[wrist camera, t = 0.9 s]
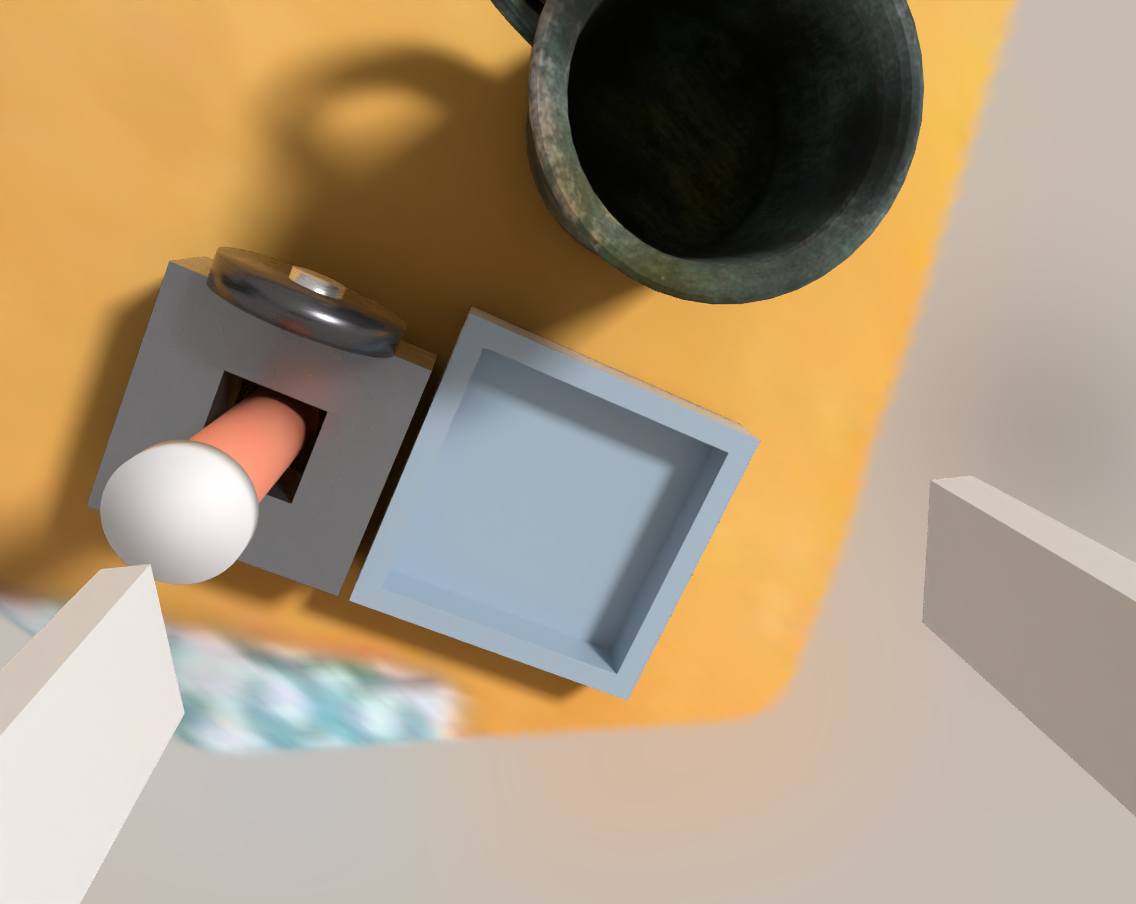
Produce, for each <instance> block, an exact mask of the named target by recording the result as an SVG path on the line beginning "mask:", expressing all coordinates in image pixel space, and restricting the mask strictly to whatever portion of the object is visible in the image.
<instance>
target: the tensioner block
mask: <svg viewBox="0 0 1136 904" xmlns="http://www.w3.org/2000/svg"><path fill="white" fill-rule="evenodd" d="M406 325H407V324H406V322H405V321H404V320H403V319H402V318H401V317H399V316H398V315H397V314H395V313H394V312H392V311H391V310H389V309H387V308H386V307H384V306H382V305H381V304H379V303H377V302H375V301H373V300H371V299H369V298H367V297H365V296H364V295H361V294H359V293H357V292H355V291H353V290H351V289H349V288H347V287H345V286H344V285H342V284H341V283H339V282H337V281H335V280H333V279H331V278H329V277H327V276H324V275H322V274H319V273H317V272H314V271H312V270H309V269H306V268H302V267H298V266H293V265H290V264H288V263H285V262H282V261H279V260H276V259H273V258H270V257H267V256H263V255H260V254H257V253H253V252H249V251H245V250H241V249H236V248H229V247H220V248H218V249H217V252H216V255H215V258H214V260H212V259H209V258H207V257H198V258H190V259H182V260H173V261H169V264H168V267H167V270H166V273H165V276H164V279H163V281H162V284H161V287H160V290H159V293H158V296H157V299H156V302H155V305H154V308H153V311H152V314H151V317H150V320H149V323H148V326H147V329H146V332H145V335H144V338H143V341H142V344H141V347H140V349H139V352H138V355H137V358H136V361H135V364H134V367H133V370H132V373H131V376H130V379H129V382H128V385H127V388H126V391H125V394H124V397H123V400H122V403H121V406H120V409H119V412H118V414H117V417H116V420H115V423H114V426H113V429H112V432H111V435H110V438H109V441H108V444H107V447H106V450H105V453H104V456H103V459H102V462H101V465H100V468H99V471H98V474H97V477H96V479H95V482H94V485H93V488H92V491H91V494H90V497H89V500H88V503H87V506H88V507H90V508H93V509H96V510H99V511H100V506H101V499H102V495H103V491H104V489H105V486H106V484H107V482H108V481H109V479H110V477H111V476H112V475H113V474H114V472H115V471H116V470H117V469H118V468H119V467H120V466H121V465H122V464H124V463H125V462H126V461H128V460H129V459H131V458H132V457H134V456H135V455H137V454H138V453H140V452H142V451H143V450H145V449H146V448H148V447H150V446H152V445H155V444H158V443H161V442H165V441H170V440H189V439H190V438H191V437H193V436H194V435H195V434H197V433H198V432H200V431H201V430H202V429H204V428H205V427H206V426H208V425H209V424H210V423H212V422H213V421H215V420H216V419H217V418H219V417H220V416H221V415H223V414H224V413H226V412H227V411H228V410H230V409H231V408H232V407H234V404H235V401H236V399H237V396H238V393H239V390H240V388H241V385H242V382H243V380H244V378H245V379H247V380H250V381H252V382H255V383H257V384H260V385H262V386H265V387H267V388H270V389H272V390H275V391H277V392H280V393H282V394H285V395H287V396H290V397H292V398H295V399H297V400H300V401H302V402H305V403H307V404H310V405H312V406H315V407H317V408H320V409H322V410H325V411H327V412H328V413H327V415H326V418H325V420H324V423H323V425H322V428H321V430H320V433H319V436H318V438H317V441H316V443H315V446H314V448H313V451H312V453H311V456H310V458H309V461H308V463H307V466H306V469H305V471H304V472H303V471H301V470H298V469H296V468H293V467H290V466H289V467H288V468H287V469H286V470H285V472H284V473H283V474H282V475H281V477H280V478H279V479H278V480H277V481H276V483H275V484H274V485H273V486H272V488H271V489H270V490H269V491H268V493H267V494H266V495H265V496H264V498H263V499H262V500H261V501H260V503H259V518H258V524H257V527H256V530H255V533H254V535H253V537H252V539H251V540H250V542H249V544H248V545H247V546H246V548H245V549H244V550H243V552H242V553H241V555H240V556H239V557H238V559H237V560H238V561H241V562H244V563H246V564H249V565H252V566H255V567H258V568H260V569H263V570H266V571H269V572H271V573H274V574H277V575H280V576H283V577H285V578H288V579H291V580H294V581H297V582H299V583H302V584H305V585H308V586H310V587H313V588H316V589H319V590H322V591H324V592H327V593H330V594H333V595H336V596H338V595H339V592H340V590H341V588H342V585H343V583H344V580H345V578H346V576H347V573H348V571H349V568H350V566H351V564H352V561H353V559H354V556H355V554H356V552H357V549H358V547H359V544H360V542H361V540H362V537H363V535H364V532H365V530H366V528H367V525H368V523H369V520H370V518H371V516H372V513H373V511H374V508H375V506H376V504H377V501H378V499H379V496H380V494H381V492H382V489H383V487H384V484H385V482H386V480H387V477H388V475H389V472H390V470H391V468H392V465H393V463H394V460H395V458H396V456H397V453H398V451H399V448H400V446H401V444H402V441H403V439H404V436H405V434H406V432H407V429H408V427H409V424H410V422H411V420H412V417H413V415H414V412H415V410H416V408H417V405H418V403H419V400H420V398H421V396H422V393H423V391H424V388H425V386H426V384H427V381H428V379H429V376H430V374H431V372H432V369H433V366H434V363H435V361H436V358H437V355H435V354H433V353H431V352H428V351H426V350H424V349H421V348H419V347H417V346H414V345H412V344H410V343H407V342H405V341H402V340H401V338H402V335H403V333H404V330H405V328H406Z"/></svg>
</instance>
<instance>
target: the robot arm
mask: <svg viewBox="0 0 1136 904" xmlns="http://www.w3.org/2000/svg"><path fill="white" fill-rule="evenodd" d="M923 623H924V624H925V625H926V626H927V627H928V628H929V629H931V630H932V631H933V632H934V633H935V634H936V635H937V636H938V637H939V638H940V639H942V640H943V641H944V642H945V643H946V644H947V645H948V646H949V647H950V648H951V649H953V650H954V651H955V652H956V653H957V654H958V655H959V656H960V657H961V658H962V659H964V660H965V661H966V662H967V663H968V664H969V665H970V666H971V667H972V668H973V669H974V670H976V671H977V672H978V673H979V674H980V675H981V676H982V677H983V678H984V679H985V680H987V681H988V682H989V683H990V684H991V685H992V686H993V687H994V688H995V689H996V690H998V691H999V692H1000V693H1001V694H1002V695H1003V696H1004V697H1005V698H1006V699H1007V700H1009V701H1010V702H1011V703H1012V704H1013V705H1014V706H1015V707H1016V708H1017V709H1018V710H1019V711H1021V712H1022V713H1023V714H1024V715H1025V716H1026V717H1027V718H1028V719H1029V720H1030V721H1032V722H1033V723H1034V724H1035V725H1036V726H1037V727H1038V728H1039V729H1040V730H1041V731H1042V732H1044V733H1045V734H1046V735H1047V736H1048V737H1049V738H1050V739H1051V740H1052V741H1053V742H1055V743H1056V744H1057V745H1058V746H1059V747H1060V748H1061V749H1062V750H1063V751H1064V752H1066V753H1067V754H1068V755H1069V756H1070V757H1071V758H1073V760H1074V761H1075V762H1076V763H1078V764H1079V765H1080V766H1081V767H1082V768H1083V769H1084V770H1085V771H1086V772H1088V773H1089V774H1090V775H1091V776H1092V777H1093V778H1094V779H1095V780H1096V781H1097V782H1098V783H1100V784H1101V785H1102V786H1103V787H1104V788H1105V789H1106V790H1107V791H1108V792H1109V793H1111V794H1112V795H1113V796H1114V797H1115V798H1116V799H1117V800H1118V801H1119V802H1120V803H1121V804H1123V805H1124V806H1125V807H1126V808H1127V809H1128V810H1129V811H1130V812H1131V813H1132V814H1134V815H1135V816H1136V563H1135V562H1133V561H1131V560H1129V559H1127V558H1126V557H1124V556H1122V555H1120V554H1118V553H1116V552H1114V551H1112V550H1110V549H1109V548H1107V547H1105V546H1103V545H1101V544H1099V543H1097V542H1096V541H1094V540H1092V539H1090V538H1088V537H1086V536H1084V535H1082V534H1080V533H1079V532H1077V531H1075V530H1073V529H1071V528H1069V527H1067V526H1065V525H1064V524H1062V523H1060V522H1058V521H1056V520H1054V519H1052V518H1050V517H1049V516H1047V515H1045V514H1043V513H1041V512H1039V511H1037V510H1035V509H1033V508H1032V507H1030V506H1028V505H1026V504H1024V503H1022V502H1021V501H1018V500H1017V499H1015V498H1013V497H1011V496H1009V495H1007V494H1005V493H1004V492H1002V491H1000V490H998V489H996V488H994V487H992V486H990V485H988V484H987V483H985V482H983V481H981V480H979V479H977V478H975V477H974V476H965V477H955V478H946V479H936V480H931V481H930V497H929V515H928V533H927V550H926V569H925V587H924V603H923ZM183 715H184V708H183V704H182V700H181V695H180V691H179V687H178V682H177V678H176V673H175V669H174V665H173V660H172V656H171V652H170V647H169V643H168V639H167V634H166V630H165V625H164V621H163V617H162V612H161V608H160V604H159V599H158V595H157V590H156V586H155V582H154V577H153V573H152V569H151V564H145V565H136V566H126V567H117V568H108V569H100V570H99V571H98V572H97V573H96V574H95V575H94V576H93V577H92V578H91V579H90V580H89V581H88V582H87V583H86V584H85V585H84V586H83V587H82V588H81V589H80V590H79V591H78V592H77V593H76V594H75V595H74V596H73V597H72V598H71V599H70V600H69V601H68V602H67V603H66V604H65V605H64V606H63V607H62V608H61V609H60V610H59V611H58V612H57V613H56V614H55V615H54V616H53V617H52V618H51V619H50V620H49V621H48V622H47V623H46V624H45V625H44V626H43V627H42V628H41V629H40V630H39V631H38V632H37V633H36V634H35V635H34V636H33V637H32V638H31V639H30V641H28V642H27V643H26V644H25V646H24V647H22V648H21V650H19V651H18V652H17V654H15V655H14V657H12V658H11V659H10V661H9V662H8V663H7V664H6V665H5V666H4V667H3V668H2V669H1V670H0V904H80V902H81V900H82V899H83V897H84V895H85V893H86V892H87V890H88V888H89V886H90V884H91V882H92V880H93V879H94V877H95V875H96V873H97V872H98V870H99V868H100V866H101V864H102V862H103V861H104V859H105V857H106V855H107V853H108V852H109V850H110V848H111V846H112V844H113V842H114V840H115V838H116V837H117V835H118V833H119V832H120V830H121V828H122V826H123V824H124V822H125V821H126V819H127V817H128V815H129V813H130V811H131V810H132V808H133V806H134V804H135V802H136V801H137V799H138V797H139V795H140V793H141V792H142V790H143V788H144V786H145V784H146V782H147V781H148V779H149V777H150V775H151V773H152V771H153V769H154V768H155V766H156V764H157V763H158V761H159V759H160V757H161V755H162V753H163V752H164V750H165V748H166V746H167V744H168V743H169V741H170V739H171V737H172V735H173V733H174V732H175V730H176V728H177V726H178V724H179V723H180V721H181V719H182V717H183Z"/></svg>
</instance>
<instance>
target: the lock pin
mask: <svg viewBox="0 0 1136 904" xmlns="http://www.w3.org/2000/svg"><path fill="white" fill-rule="evenodd" d="M318 423H319V411H318V408H317V407H315V406H312V405H310V404H307V403H305V402H302V401H300V400H297V399H295V398H292V397H290V396H287V395H285V394H282V393H280V392H277V391H275V390H272V389H270V388H267V387H265V386H261V387H260V388H258V389H257V390H256V391H254V392H253V393H251V394H250V395H249V396H247V397H246V398H245V399H243V400H242V401H241V402H239V403H238V404H236V405H235V406H234V407H232V408H231V409H230V410H228V411H227V412H226V413H224V414H223V415H221V416H220V417H219V418H217V419H216V420H215V421H213V422H212V423H210V424H209V425H208V426H206V427H205V428H204V429H202V430H201V431H200V432H198V433H197V434H195V435H194V436H193V437H191V438H190V439H189V440H170V441H165V442H161V443H158V444H155V445H152V446H150V447H148V448H146V449H145V450H143V451H142V452H140V453H138V454H137V455H135V456H134V457H132V458H131V459H129V460H128V461H126V462H125V463H124V464H122V465H121V466H120V467H119V468H118V469H117V470H116V471H115V472H114V474H113V475H112V476H111V477H110V479H109V481H108V482H107V484H106V486H105V489H104V491H103V495H102V499H101V506H100V517H101V523H102V528H103V531H104V534H105V536H106V538H107V540H108V542H109V544H110V546H111V547H112V549H113V550H114V552H115V553H116V554H117V555H118V556H119V558H120V559H121V560H122V561H124V562H125V563H126V564H127V565H128V566H136V565H145V564H151V569H152V573H153V577H154V580H157V581H160V582H164V583H170V584H193V583H198V582H202V581H205V580H208V579H211V578H213V577H215V576H217V575H219V574H221V573H222V572H224V571H225V570H226V569H228V568H229V567H230V566H231V565H232V564H233V563H234V562H235V561H236V560H237V559H238V557H239V556H240V555H241V553H242V552H243V550H244V549H245V548H246V546H247V545H248V544H249V542H250V540H251V539H252V537H253V535H254V533H255V530H256V527H257V524H258V518H259V503H260V501H261V500H262V499H263V498H264V496H265V495H266V494H267V493H268V491H269V490H270V489H271V488H272V486H273V485H274V484H275V483H276V481H277V480H278V479H279V478H280V477H281V475H282V474H283V473H284V472H285V470H286V469H287V468H288V467H289V465H290V464H291V463H292V462H293V460H294V459H295V458H296V457H297V455H298V454H299V453H300V452H301V451H302V449H303V448H304V447H305V446H306V444H307V443H308V442H309V441H310V439H311V438H312V437H313V435H314V434H315V432H316V430H317V427H318Z"/></svg>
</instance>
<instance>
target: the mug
mask: <svg viewBox="0 0 1136 904" xmlns="http://www.w3.org/2000/svg"><path fill="white" fill-rule="evenodd" d="M491 1H492V3H493V4H494V6H495V7H496V8H497V9H498V10H499V12H500V13H501V14H502V15H503V16H504V17H505V19H506V20H507V21H508V22H509V23H510V24H511V25H512V26H513V27H514V29H515V30H516V31H517V32H518V33H519V34H520V35H521V36H522V37H523V38H524V39H525V40H526V41H527V42H528V43H529V44H530V45H531V46H532V51H531V60H530V70H529V80H528V90H529V106H528V115H527V124H526V137H527V152H528V157H529V162H530V167H531V171H532V174H533V177H534V180H535V183H536V185H537V188H538V191H539V193H540V195H541V196H542V198H543V200H544V202H545V204H546V206H547V208H548V209H549V211H550V212H551V213H552V215H553V216H554V217H555V219H556V220H557V221H558V223H559V224H560V225H561V226H562V227H563V228H564V229H565V230H566V231H567V232H568V233H569V234H570V235H571V236H572V237H573V238H574V239H575V240H576V241H577V242H579V243H580V244H582V245H583V246H584V247H586V248H587V249H588V250H590V251H591V252H593V253H595V254H597V255H599V256H601V257H602V258H603V259H604V260H606V261H607V262H608V263H610V264H611V265H613V266H614V267H615V268H617V269H618V270H620V271H621V272H622V273H624V274H625V275H626V276H628V277H629V278H631V279H633V280H635V281H637V282H639V283H641V284H643V285H645V286H647V287H649V288H651V289H653V290H655V291H658V292H661V293H664V294H667V295H670V296H673V297H676V298H679V299H683V300H688V301H695V302H701V303H708V304H744V303H749V302H755V301H761V300H767V299H771V298H774V297H777V296H780V295H783V294H786V293H789V292H792V291H795V290H798V289H800V288H802V287H803V286H805V285H807V284H809V283H811V282H813V281H815V280H817V279H819V278H820V277H822V276H824V275H825V274H827V273H828V272H830V271H831V270H832V269H834V268H835V267H836V266H838V265H839V264H840V263H842V262H843V261H844V260H846V259H847V258H848V257H850V256H851V255H852V254H853V253H854V252H855V251H856V250H857V248H858V247H859V246H860V245H861V244H862V243H863V242H864V241H865V240H866V239H867V238H868V237H869V236H870V235H871V234H872V233H873V231H874V230H875V229H876V227H877V226H878V225H879V223H880V222H881V221H882V219H883V218H884V217H885V215H886V214H887V212H888V211H889V210H890V208H891V206H892V204H893V202H894V200H895V198H896V197H897V195H898V193H899V191H900V189H901V187H902V185H903V183H904V181H905V178H906V176H907V173H908V170H909V167H910V165H911V162H912V159H913V156H914V154H915V150H916V145H917V141H918V136H919V131H920V126H921V122H922V110H923V95H924V81H923V67H922V54H921V50H920V45H919V40H918V36H917V31H916V27H915V22H914V19H913V17H912V14H911V12H910V9H909V6H908V4H907V1H906V0H491Z"/></svg>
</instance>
